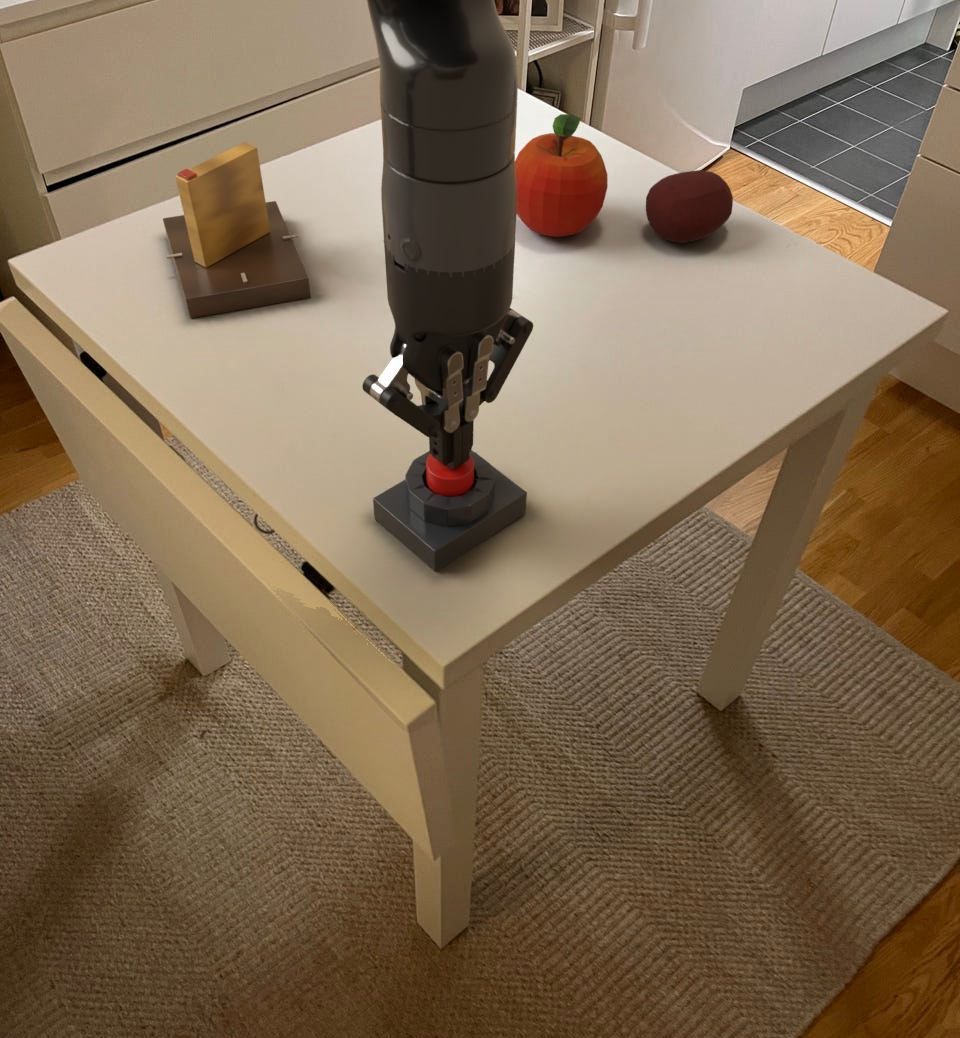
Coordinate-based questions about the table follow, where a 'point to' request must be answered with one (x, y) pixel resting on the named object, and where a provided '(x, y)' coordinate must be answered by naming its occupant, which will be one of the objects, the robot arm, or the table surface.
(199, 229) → the wooden block
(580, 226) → the fruit
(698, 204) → the potato
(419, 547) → the button block
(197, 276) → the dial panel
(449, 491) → the button
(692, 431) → the table surface
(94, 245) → the table surface
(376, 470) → the table surface
